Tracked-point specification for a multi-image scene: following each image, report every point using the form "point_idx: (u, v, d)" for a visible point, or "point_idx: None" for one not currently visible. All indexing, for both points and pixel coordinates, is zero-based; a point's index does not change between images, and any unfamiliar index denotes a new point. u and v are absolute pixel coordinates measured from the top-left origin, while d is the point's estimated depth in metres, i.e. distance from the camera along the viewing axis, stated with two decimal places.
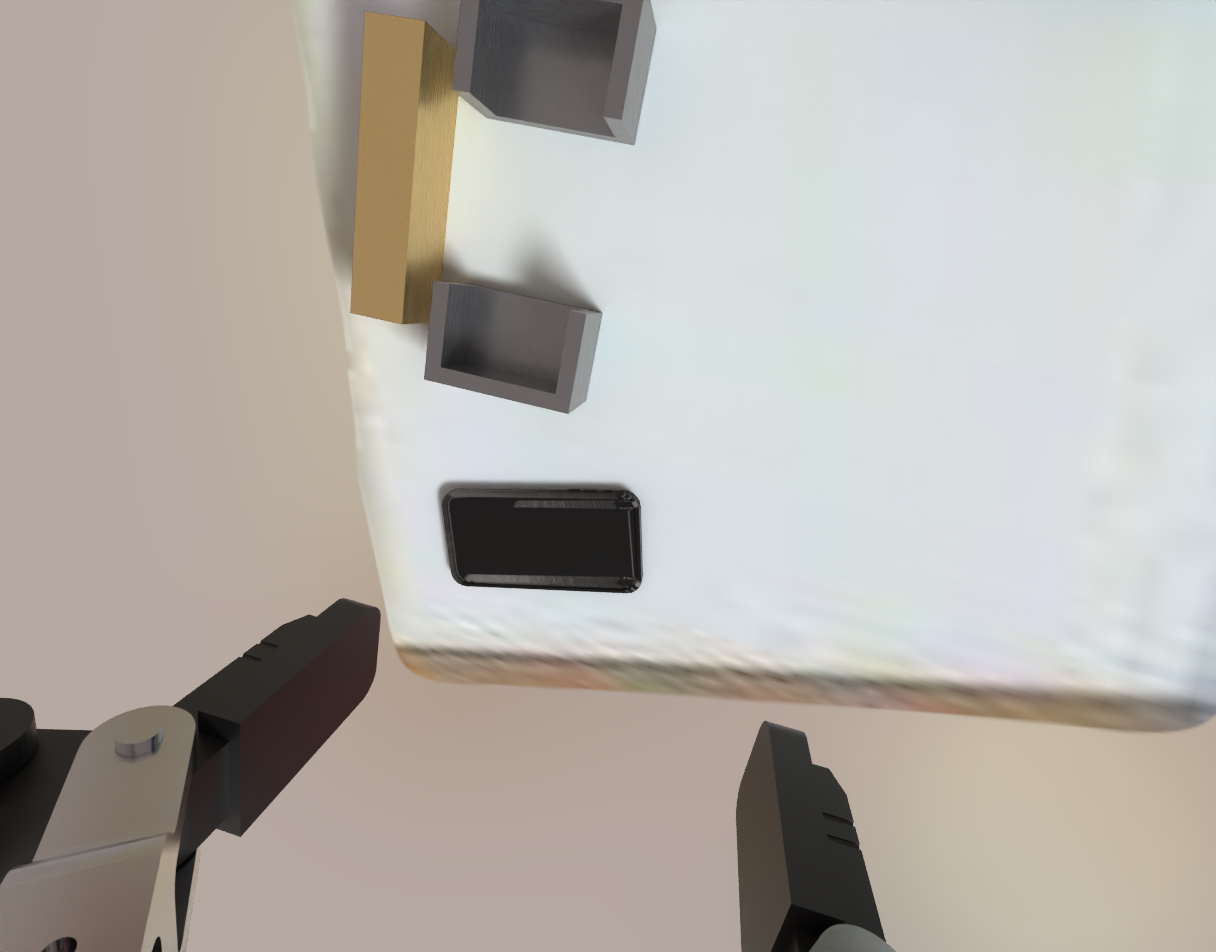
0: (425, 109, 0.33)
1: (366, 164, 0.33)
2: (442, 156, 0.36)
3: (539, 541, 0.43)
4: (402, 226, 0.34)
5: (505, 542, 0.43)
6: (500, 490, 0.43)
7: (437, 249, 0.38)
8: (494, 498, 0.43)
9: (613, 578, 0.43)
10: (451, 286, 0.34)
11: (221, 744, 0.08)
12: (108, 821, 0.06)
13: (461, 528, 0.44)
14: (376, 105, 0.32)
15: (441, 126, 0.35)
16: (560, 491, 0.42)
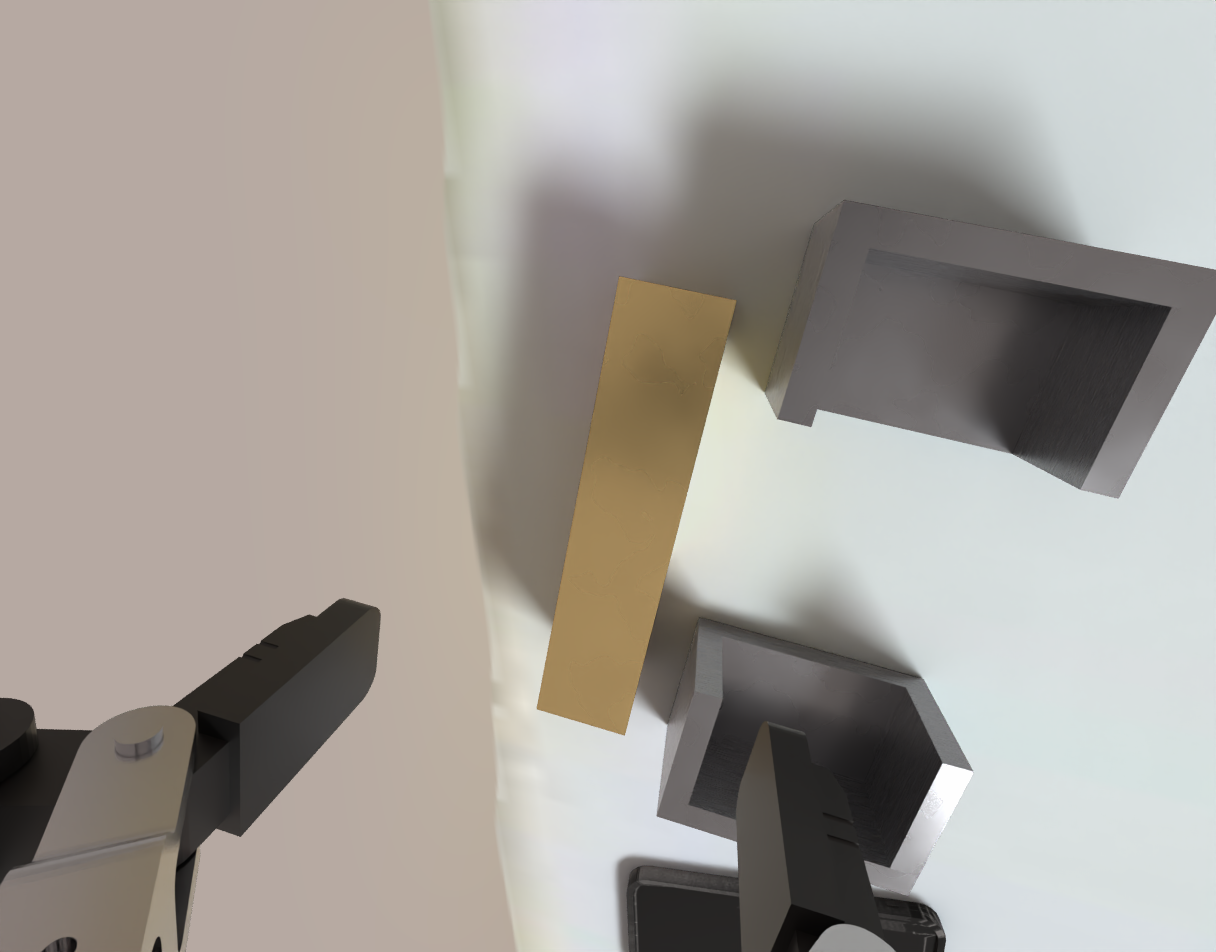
0: None
1: (591, 510, 0.19)
2: None
3: None
4: (645, 604, 0.20)
5: (719, 946, 0.29)
6: (718, 882, 0.29)
7: None
8: (708, 893, 0.29)
9: None
10: (721, 696, 0.20)
11: (221, 744, 0.08)
12: (109, 821, 0.06)
13: (652, 921, 0.30)
14: (622, 425, 0.18)
15: None
16: None
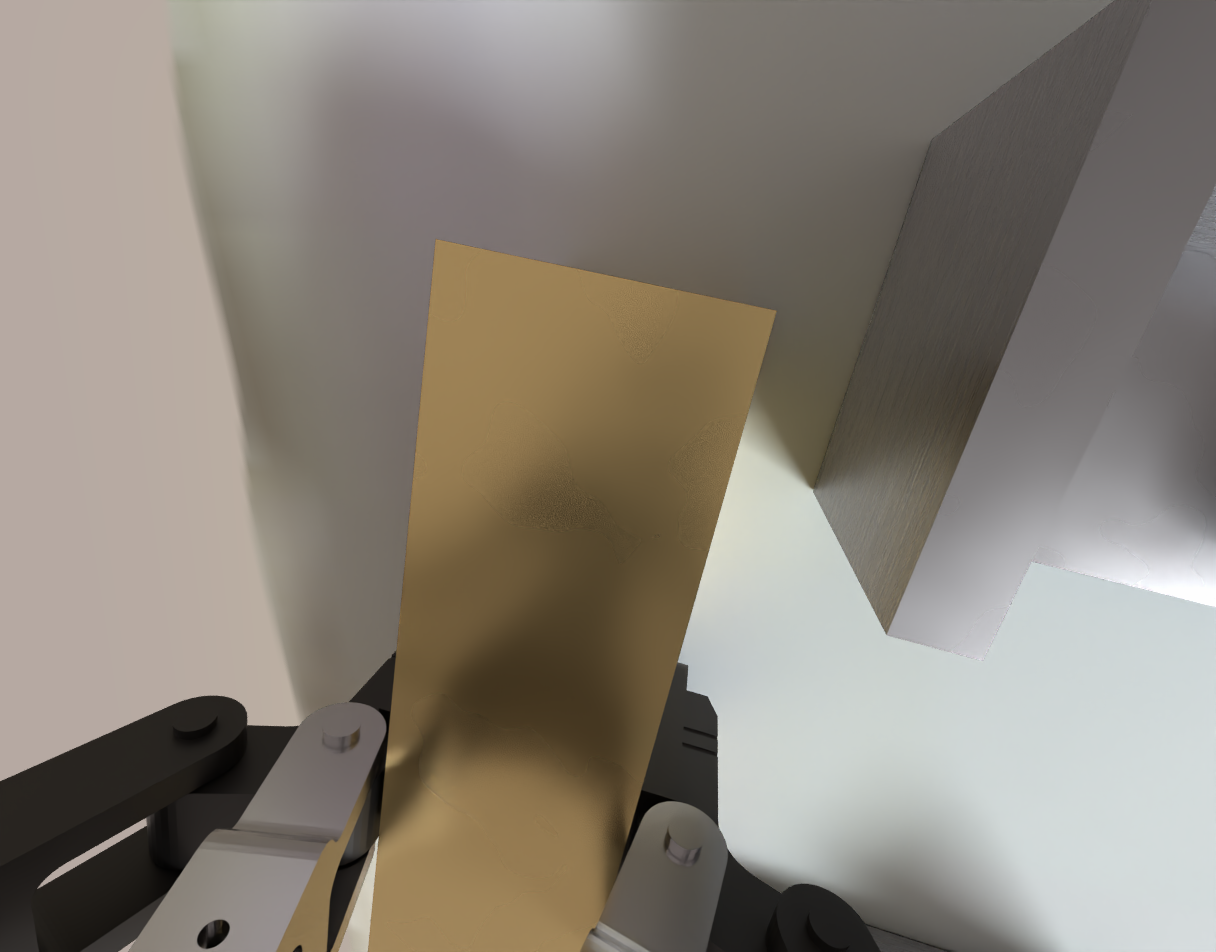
0: None
1: (420, 800, 0.08)
2: None
3: None
4: None
5: None
6: None
7: None
8: None
9: None
10: None
11: None
12: (297, 807, 0.07)
13: None
14: (474, 625, 0.07)
15: None
16: None
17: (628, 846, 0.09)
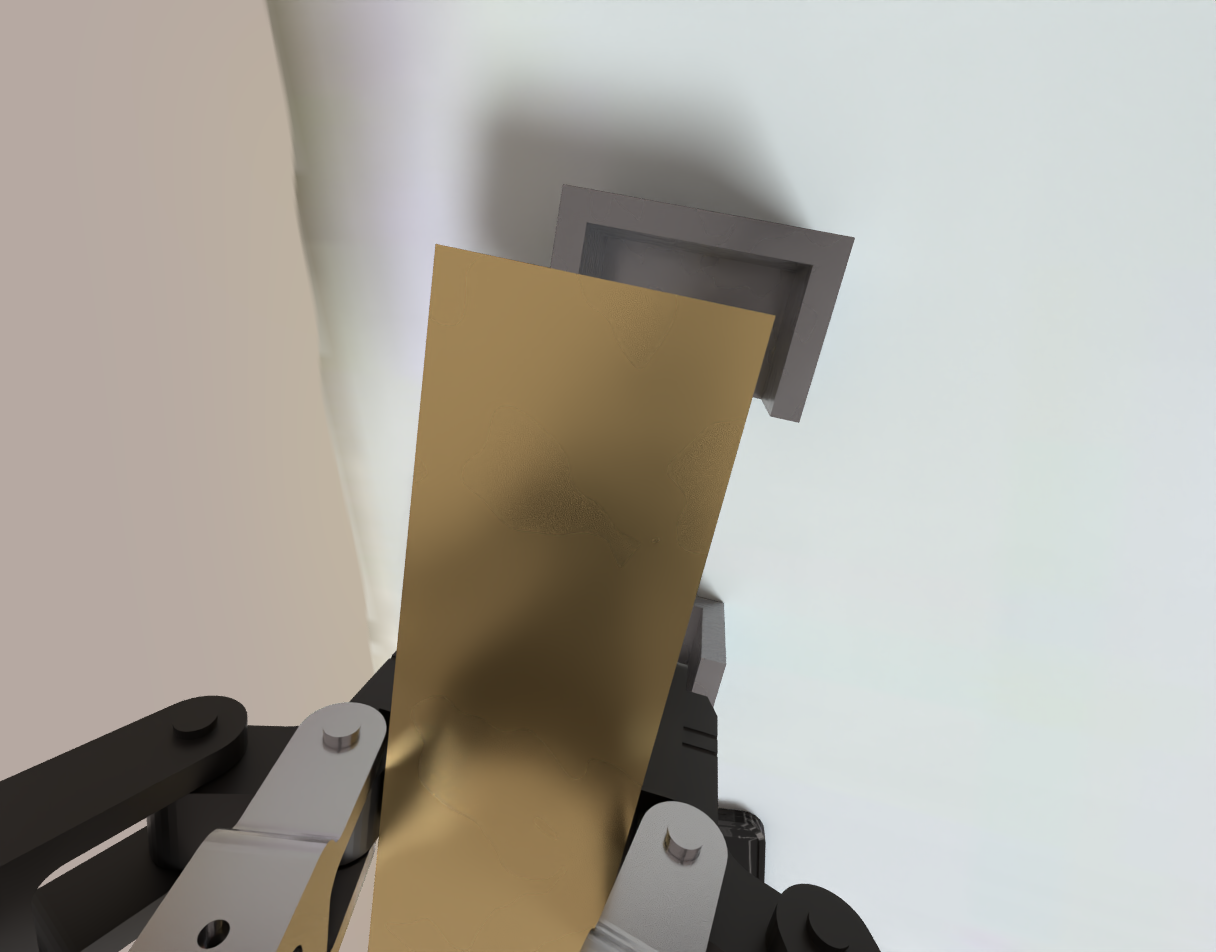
0: None
1: (420, 802, 0.08)
2: None
3: None
4: None
5: None
6: None
7: None
8: None
9: None
10: None
11: None
12: (297, 806, 0.07)
13: None
14: (474, 628, 0.07)
15: None
16: None
17: (628, 846, 0.09)
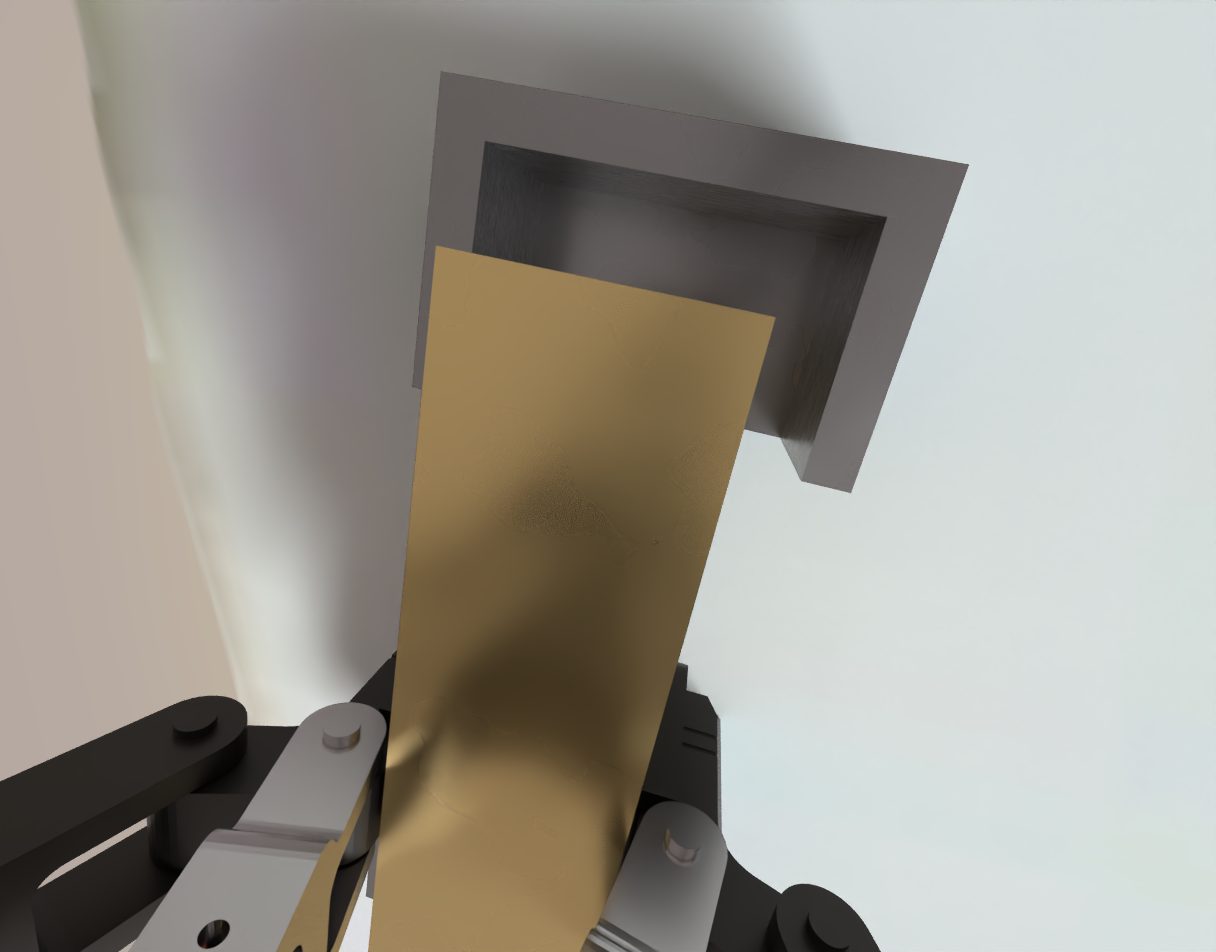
0: None
1: (420, 803, 0.08)
2: None
3: None
4: None
5: None
6: None
7: None
8: None
9: None
10: None
11: None
12: (297, 806, 0.07)
13: None
14: (474, 629, 0.07)
15: None
16: None
17: (628, 846, 0.09)
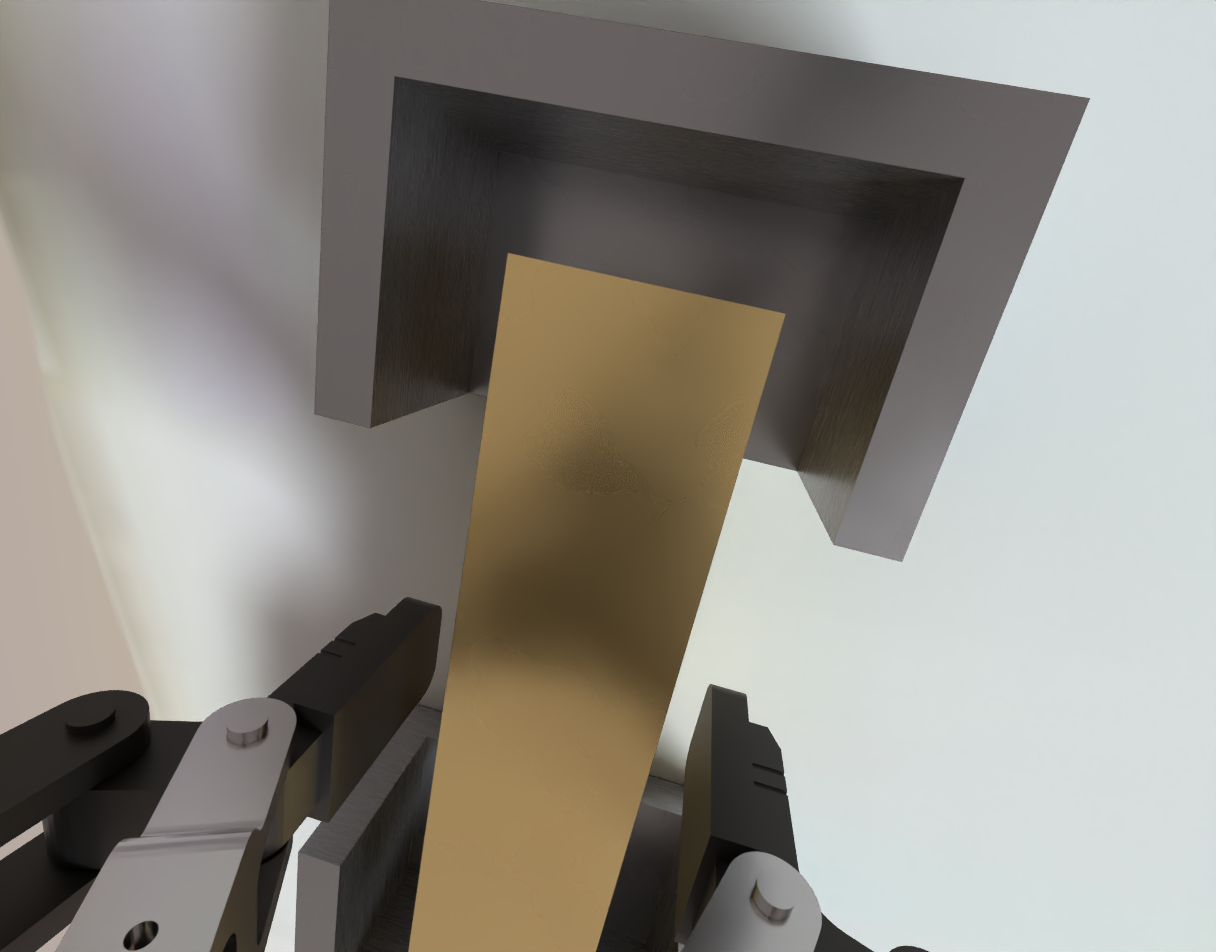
0: None
1: (473, 732, 0.09)
2: None
3: None
4: (584, 904, 0.10)
5: None
6: None
7: None
8: None
9: None
10: (348, 857, 0.13)
11: (315, 735, 0.09)
12: (210, 806, 0.07)
13: None
14: (527, 576, 0.08)
15: None
16: None
17: (702, 895, 0.08)
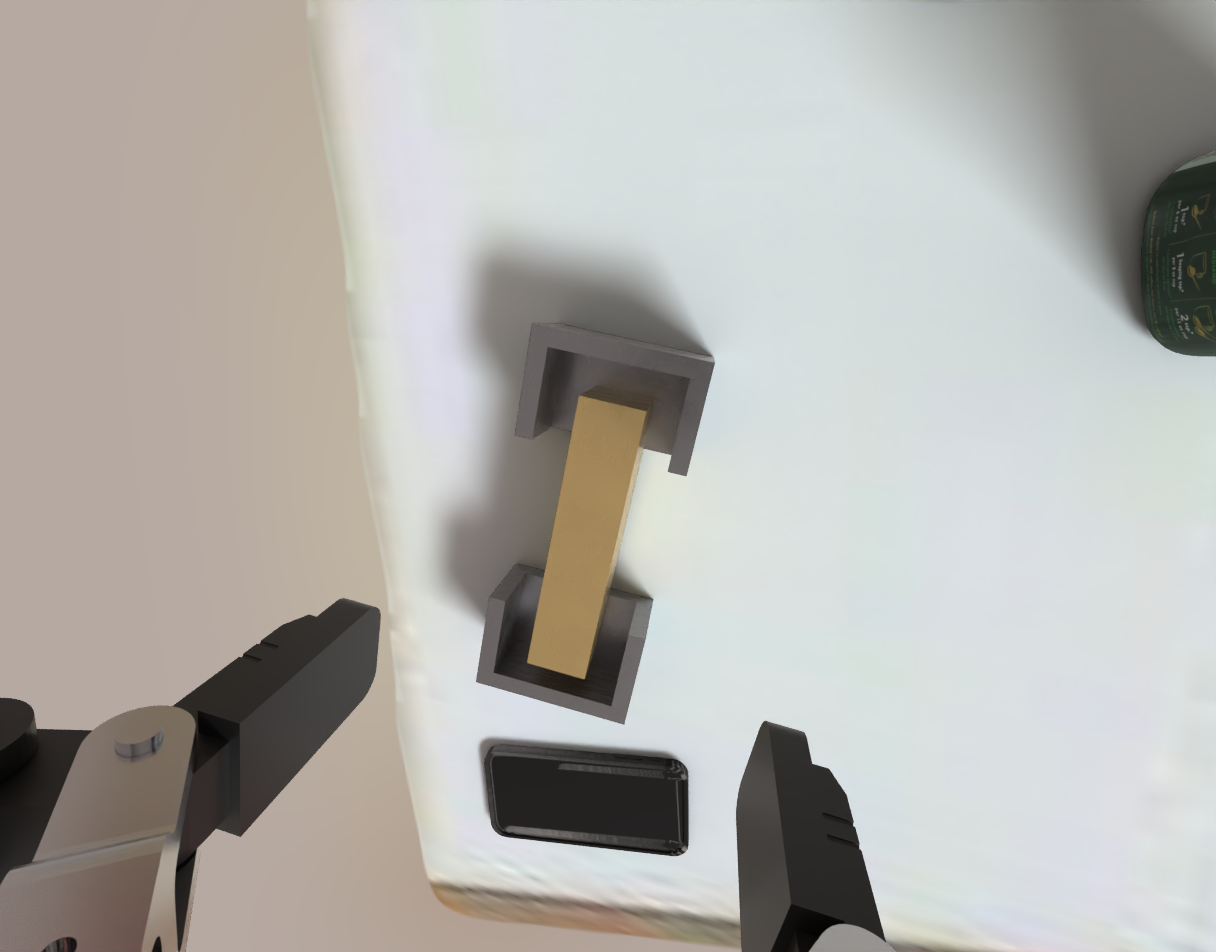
0: (631, 481, 0.31)
1: (563, 532, 0.31)
2: (629, 499, 0.33)
3: (583, 801, 0.42)
4: (596, 592, 0.32)
5: (548, 799, 0.43)
6: (544, 751, 0.42)
7: (612, 577, 0.36)
8: (538, 759, 0.42)
9: (659, 840, 0.42)
10: (506, 601, 0.34)
11: (221, 744, 0.08)
12: (108, 821, 0.06)
13: (503, 783, 0.43)
14: (581, 480, 0.30)
15: (634, 476, 0.33)
16: (606, 756, 0.41)
17: None
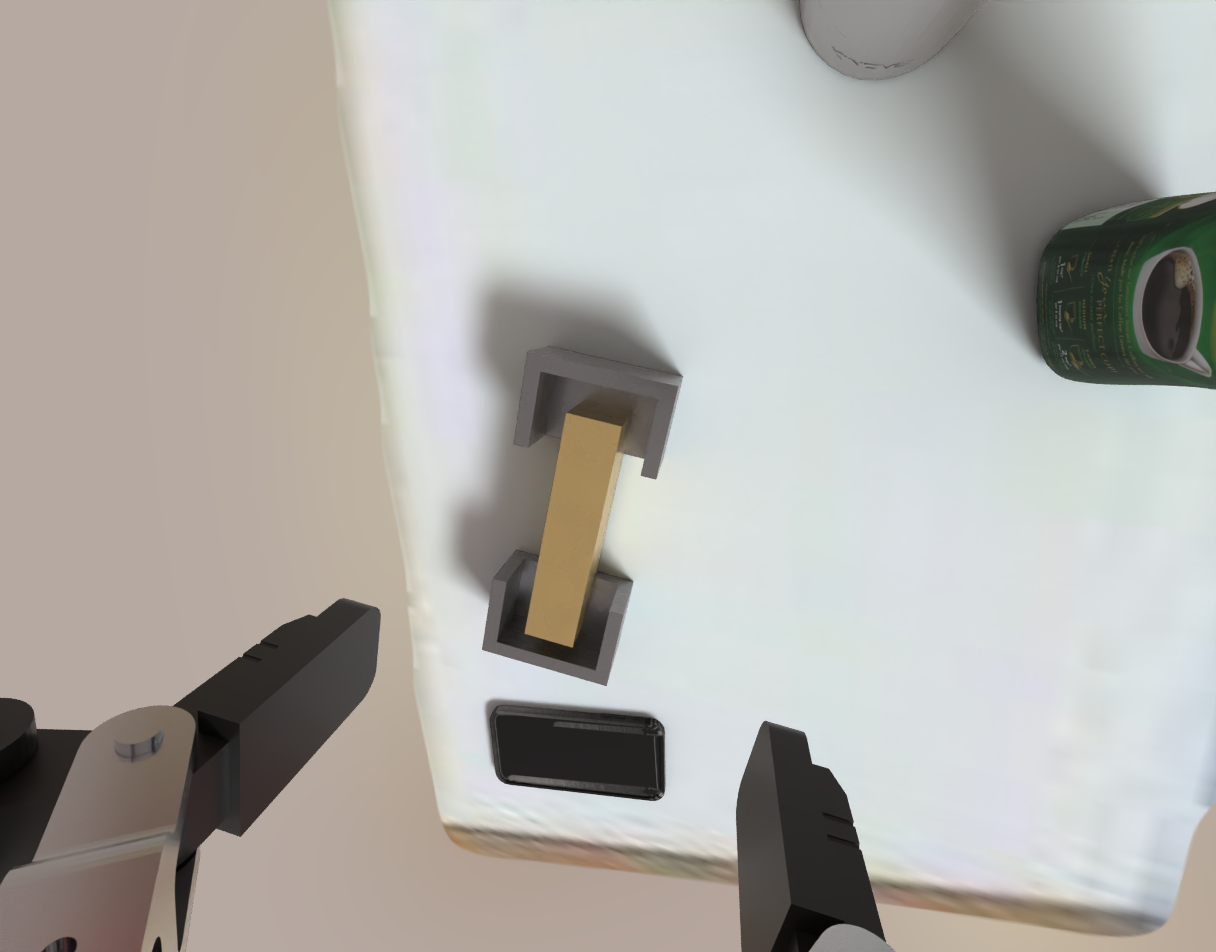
0: (610, 483, 0.37)
1: (553, 525, 0.37)
2: (611, 497, 0.40)
3: (575, 754, 0.49)
4: (582, 575, 0.38)
5: (545, 752, 0.49)
6: (541, 711, 0.49)
7: (597, 562, 0.42)
8: (535, 718, 0.49)
9: (640, 788, 0.49)
10: (507, 582, 0.41)
11: (221, 744, 0.08)
12: (108, 821, 0.06)
13: (506, 738, 0.50)
14: (568, 482, 0.36)
15: (614, 478, 0.39)
16: (594, 715, 0.48)
17: None
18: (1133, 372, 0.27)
